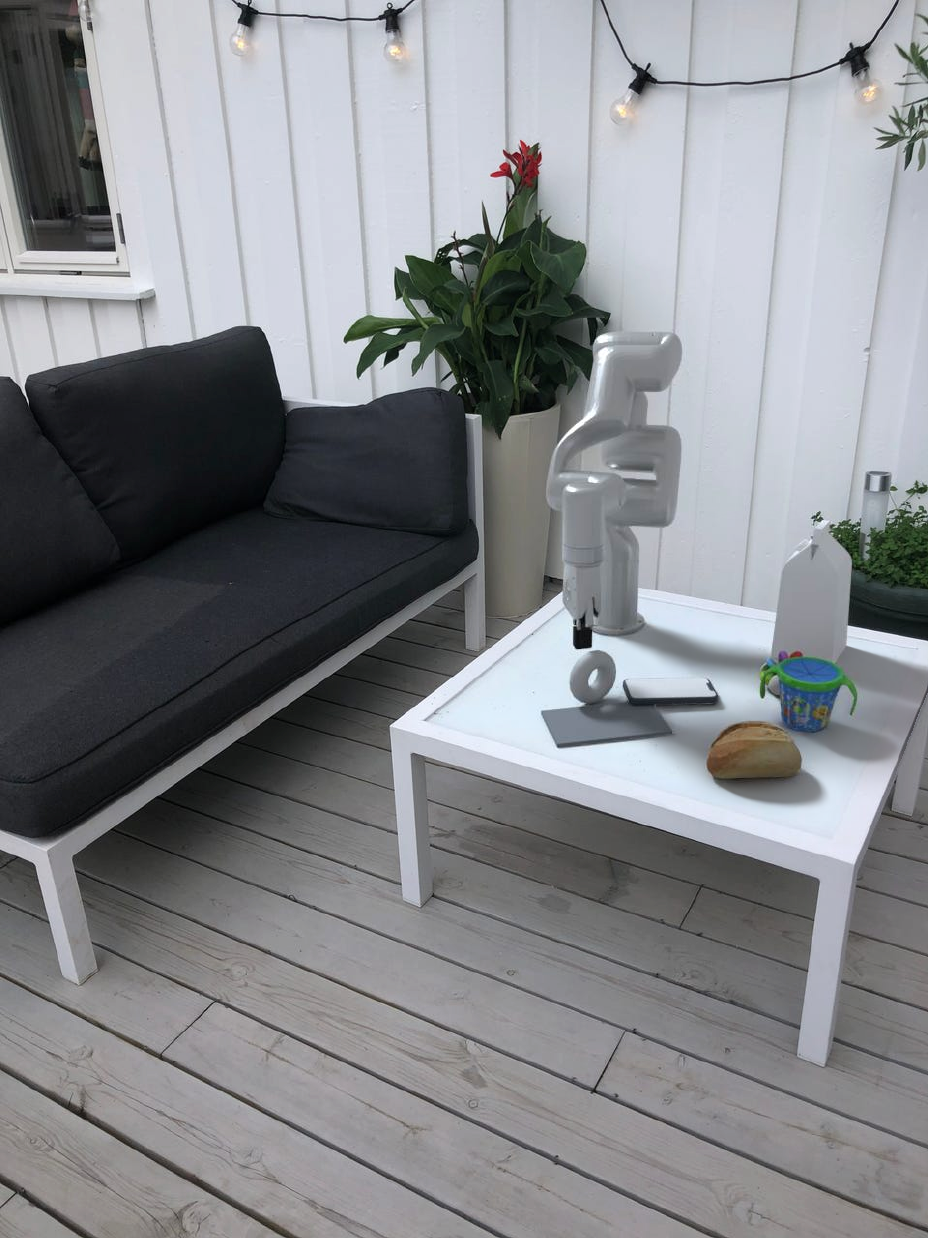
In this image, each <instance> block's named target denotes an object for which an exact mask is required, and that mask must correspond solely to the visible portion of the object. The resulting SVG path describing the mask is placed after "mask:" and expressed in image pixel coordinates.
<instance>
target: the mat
mask: <svg viewBox="0 0 928 1238" xmlns="http://www.w3.org/2000/svg"><path fill="white" fill-rule="evenodd" d="M540 714H541V717H542V719H543V720H544V723H545V726H546V727H547V729H548V732H549V733H550V735H551V738H552V739H553V742H554V744H555V746H556V747H557V748H561V747H570V746H579V745H588V744H589V745H590V744H596V743H605V742H606V743H607V742H614V741H623V740H624V741H625V740H632V739H642V738H643V739H644V738H651V737H662V736H669V735H670V736H672V735H674V731H673V729H672V728H671V727H670V725H669V723H667V721H666V719H665V718H664V717H663V715H662V714H661V712H660V711H659V710H658V708H657V707H656V705H632V704H630V703H629V702H628V701H621V702H611V703H602V704H601V703H599V704H591V705H585V706H584V705H581V706H574V707H573V706H572V707H565V708H564V707H563V708H552V709H546V710H545V709H543V710H541V711H540Z"/></svg>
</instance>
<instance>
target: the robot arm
mask: <svg viewBox="0 0 928 1238" xmlns="http://www.w3.org/2000/svg"><path fill="white" fill-rule="evenodd" d="M592 356H593V357H592V358H593V362H592V368H591V374H590V379H589V383H588V384H589V385H588V389H587V394H586V401H585V407H584V412H583V416H582V418H581V419H580V421H578V422H577V423H576V424H575V425H573V426H572V427H571V428H570V429H569V430H568V431H567V432H566V433H565V434H564V435H563V437H562V438H561V439H560V440H559V441H558V443H557V445H556V446H555V448H554V450H553V453H552V454H551V455H552V456H551V460H550V465H549V468H548V469H549V470H548V475H547V480H546V487H545V496H546V497H545V498H546V501H547V504H548V505H549V507H550V508H552V510H554V511H557V512H562V514H561V515H562V520H561V522H562V524H561V525H562V539H561V540H562V541H561V552H562V553H561V556H562V557H561V561H562V562H563V563H564V564H563V578H562V604H563V606H564V607H565V609H566V610H567V611H568V613H569V615H570V616H571V618H572V624H573V626H572V646H573V647H574V649H575V650H585V649H592V647H593V632H596V633H599V634H604V635H610V636H611V635H612V636H614V635H616V636H620V635H629V634H633V633H636V632H638V631H640V630H642V628H644V626H645V617H644V616H643V615H642V614H641V613H639V612H638V604H639V603H638V601H639V600H638V599H639V598H638V597H639V596H638V594H639V569H640V568H639V567H640V563H639V562H640V544H639V541H638V539H637V537H636V535H635V533H634V532H633V530H632V529H631V527H639V528H652V529H654V528H655V529H656V528H657V529H659V528H660V529H661V528H667V527H669V526H671V525H672V524H673V523H674V520H675V517H676V515H677V514H676V513H677V506H678V498H679V497H678V496H679V487H680V485H679V483H680V477H681V476H680V475H681V463H682V451H683V450H682V449H683V448H682V439H681V435H680V433H679V431H678V430H677V429H676V428H675V427H672V426H671V425H664V424H663V425H661V424H660V425H659V424H647V418H648V417H647V416H648V407H649V402H648V401H649V400H648V397H647V395H646V393H661V392H664V391H666V390H667V389H668V388H669V387H670V385H671V383H672V381H673V380H674V378H675V376H676V374H677V373H678V371H679V370H680V366H681V363H682V359H683V358H682V357H683V346H682V342H681V339H680V337H679V336H678V335H677V334H676V333H673V332H671V331H610V332H606V333H602V334H600V335H598V336H597V337H596V338H595V340H594V342H593V345H592ZM598 444H601V446H600V447H601V451H600V454H601V455H600V457H601V462H602V464H603V466H604V467H605V468H606V469H608V470H610V471H611V470H612V471H616V472H624V473H626V472H628V473H640V474H641V473H645V474H653V475H654V476H655V479H648V478H647V479H646V478H634V477H633V478H631V477H630V478H629V477H622V476H620V475H619V474H617V473H615V472H606V471H605V472H604V471H603V472H602V471H591V470H573V469H572V470H569V467H570V464H571V462H572V461H573V460H574V459H575V457H577V456H578V455H579V454H580V453H582V452H583V451H585V450H588V449H590V448H592V447H594V446H597V445H598Z"/></svg>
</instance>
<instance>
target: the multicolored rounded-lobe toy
mask: <svg viewBox="0 0 928 1238" xmlns="http://www.w3.org/2000/svg"><path fill="white" fill-rule="evenodd" d="M793 657H803V655H802V653H801V652H799V651H795V652H793V653H792V654H791V655H790V656H789V657H788V655H787V653H786V652H785V651H780V653H779V659H778V663H777V662H775V660H773V658H771V657H770V658H769V657H768V658H766V659H765V663H764V664H763V665H761V667H760V669H759V680H760V681H761V680H762V677H763V676H764V674H765V672H766V671H767V670H768V669H769V668H770V667H772V666H774V665H776V664H779V663H780V662H782V661H783V660H785V659H788V658H793ZM765 685H768V689H769V691H770V692H771V693H772V694H773V695H776V696H780V684H779V678H778V675H777V674H776V673H775V672H771V673H769V674H768V675H767V676H766V678H765Z"/></svg>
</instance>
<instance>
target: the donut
mask: <svg viewBox="0 0 928 1238" xmlns="http://www.w3.org/2000/svg"><path fill="white" fill-rule="evenodd" d="M616 666H617V665H616V663H615V661H614V659H613V657H612V656H611V655H610V654H609V653H608V652H606V651H603V650H600V649H596V650H589V651H587V652H586V653H584V654H582V655H581V656H580V657H579V658H578V659H577V660H576V662H575V663H574V665H573V666H572V668H571V671H570V674H569V675H570V677H569V682H568V683H569V690H570V692H571V694H572V696H573V697H574V699H576V700H577V701H579V703H581V704H582V703H583V704H586V705H587V704H588V705H589V704H591V705H592V704H596V703H598V702H600V701H601V700H603V699H604V698H605V697H606V696H607V695H608V694H609V693H610V692H611V690H612V689H613V688H614V687H613V686H614V684H615V680H616V676H617V669H616ZM596 670H597V671H596ZM594 671H596V676H595V677H596V678H595V679H594V681H593V682H592V683H591V684H590V683H589V680H590V677H591V675H592V673H593V672H594Z"/></svg>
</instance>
